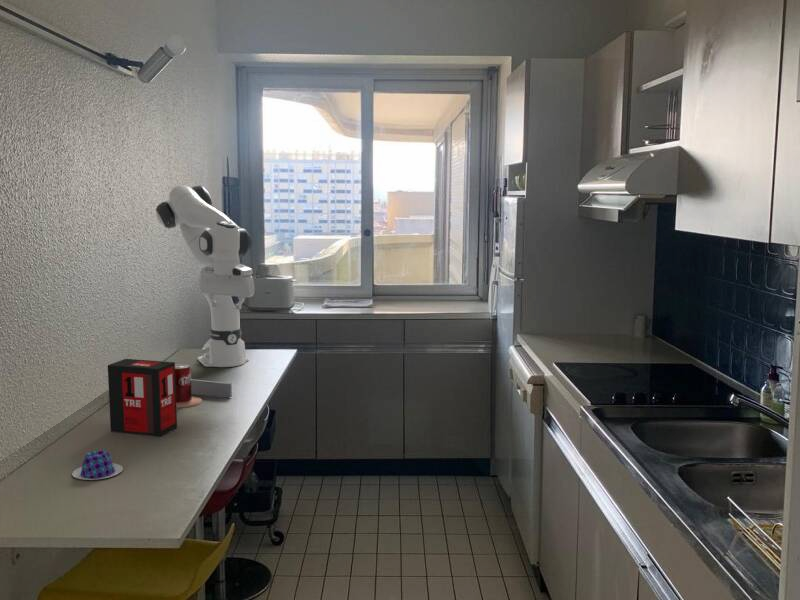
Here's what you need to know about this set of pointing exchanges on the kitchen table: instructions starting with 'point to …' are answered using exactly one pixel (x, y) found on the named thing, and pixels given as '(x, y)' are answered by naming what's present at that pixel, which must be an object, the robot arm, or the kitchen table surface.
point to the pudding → (97, 466)
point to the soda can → (183, 383)
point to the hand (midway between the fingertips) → (226, 307)
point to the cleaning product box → (142, 397)
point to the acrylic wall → (211, 388)
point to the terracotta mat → (190, 403)
